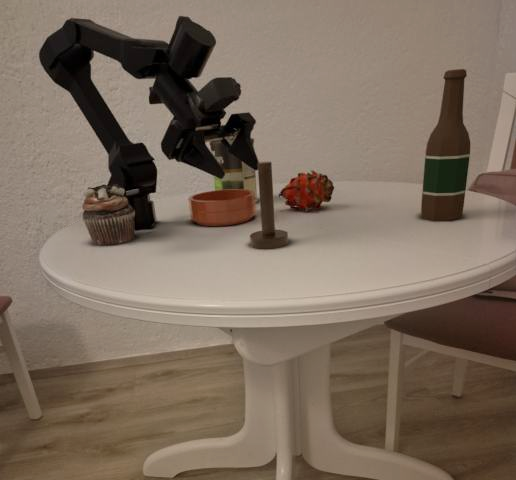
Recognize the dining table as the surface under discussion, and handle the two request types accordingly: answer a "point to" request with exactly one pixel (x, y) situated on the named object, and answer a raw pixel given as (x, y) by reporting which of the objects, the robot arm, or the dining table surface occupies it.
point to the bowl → (222, 207)
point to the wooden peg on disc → (267, 213)
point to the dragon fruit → (307, 191)
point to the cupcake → (108, 215)
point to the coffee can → (233, 170)
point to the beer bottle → (447, 155)
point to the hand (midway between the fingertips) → (241, 172)
